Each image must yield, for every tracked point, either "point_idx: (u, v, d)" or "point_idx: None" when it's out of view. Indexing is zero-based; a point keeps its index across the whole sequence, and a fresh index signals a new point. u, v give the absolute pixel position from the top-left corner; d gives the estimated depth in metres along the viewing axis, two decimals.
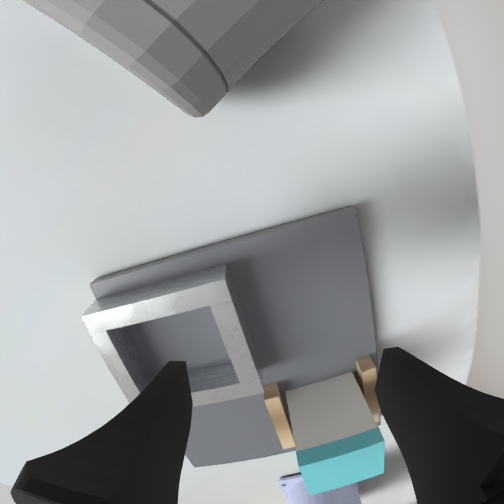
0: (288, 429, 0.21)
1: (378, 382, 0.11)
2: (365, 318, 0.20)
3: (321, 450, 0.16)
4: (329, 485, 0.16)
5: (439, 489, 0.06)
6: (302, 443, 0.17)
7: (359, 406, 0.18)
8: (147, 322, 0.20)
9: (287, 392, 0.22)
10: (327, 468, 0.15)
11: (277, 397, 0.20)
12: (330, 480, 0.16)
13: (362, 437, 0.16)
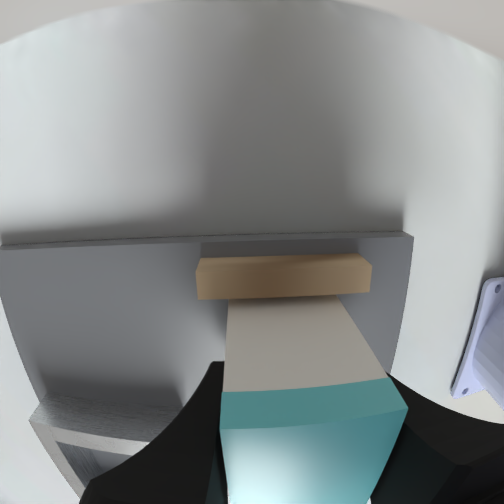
0: None
1: None
2: (120, 258, 0.12)
3: None
4: (351, 496, 0.07)
5: None
6: None
7: None
8: (114, 465, 0.16)
9: None
10: None
11: None
12: (326, 498, 0.07)
13: None
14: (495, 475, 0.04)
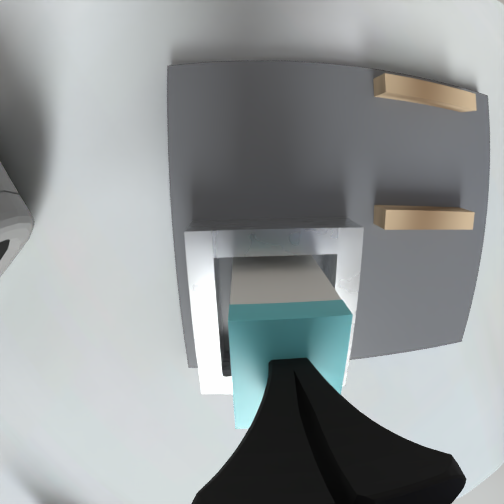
0: (444, 212, 0.15)
1: None
2: (314, 71, 0.14)
3: None
4: None
5: None
6: None
7: None
8: None
9: None
10: None
11: (386, 211, 0.15)
12: None
13: None
14: None
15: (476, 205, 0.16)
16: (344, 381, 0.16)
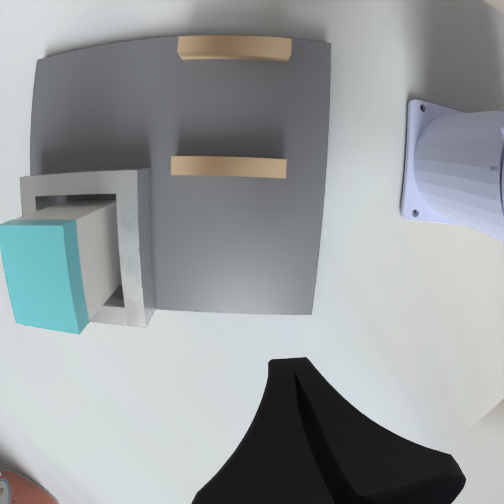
0: (241, 159, 0.16)
1: None
2: (132, 48, 0.15)
3: None
4: (61, 305, 0.13)
5: None
6: None
7: None
8: None
9: None
10: (24, 297, 0.12)
11: (172, 158, 0.16)
12: (48, 301, 0.13)
13: None
14: None
15: (308, 157, 0.18)
16: (144, 322, 0.18)
